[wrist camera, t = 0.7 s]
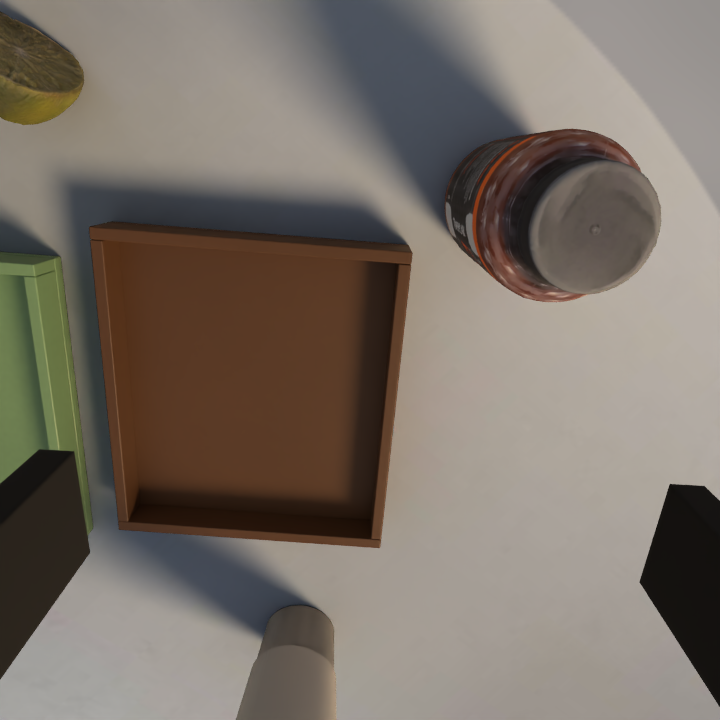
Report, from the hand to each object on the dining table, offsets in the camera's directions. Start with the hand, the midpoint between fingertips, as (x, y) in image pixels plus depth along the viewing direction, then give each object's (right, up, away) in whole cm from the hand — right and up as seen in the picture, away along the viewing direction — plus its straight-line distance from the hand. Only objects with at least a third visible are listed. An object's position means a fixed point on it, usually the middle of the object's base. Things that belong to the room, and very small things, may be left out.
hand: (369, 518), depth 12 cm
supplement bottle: (+7, +11, +15) cm, 20 cm away
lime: (-15, +17, +13) cm, 26 cm away
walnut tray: (-6, +2, +18) cm, 19 cm away
